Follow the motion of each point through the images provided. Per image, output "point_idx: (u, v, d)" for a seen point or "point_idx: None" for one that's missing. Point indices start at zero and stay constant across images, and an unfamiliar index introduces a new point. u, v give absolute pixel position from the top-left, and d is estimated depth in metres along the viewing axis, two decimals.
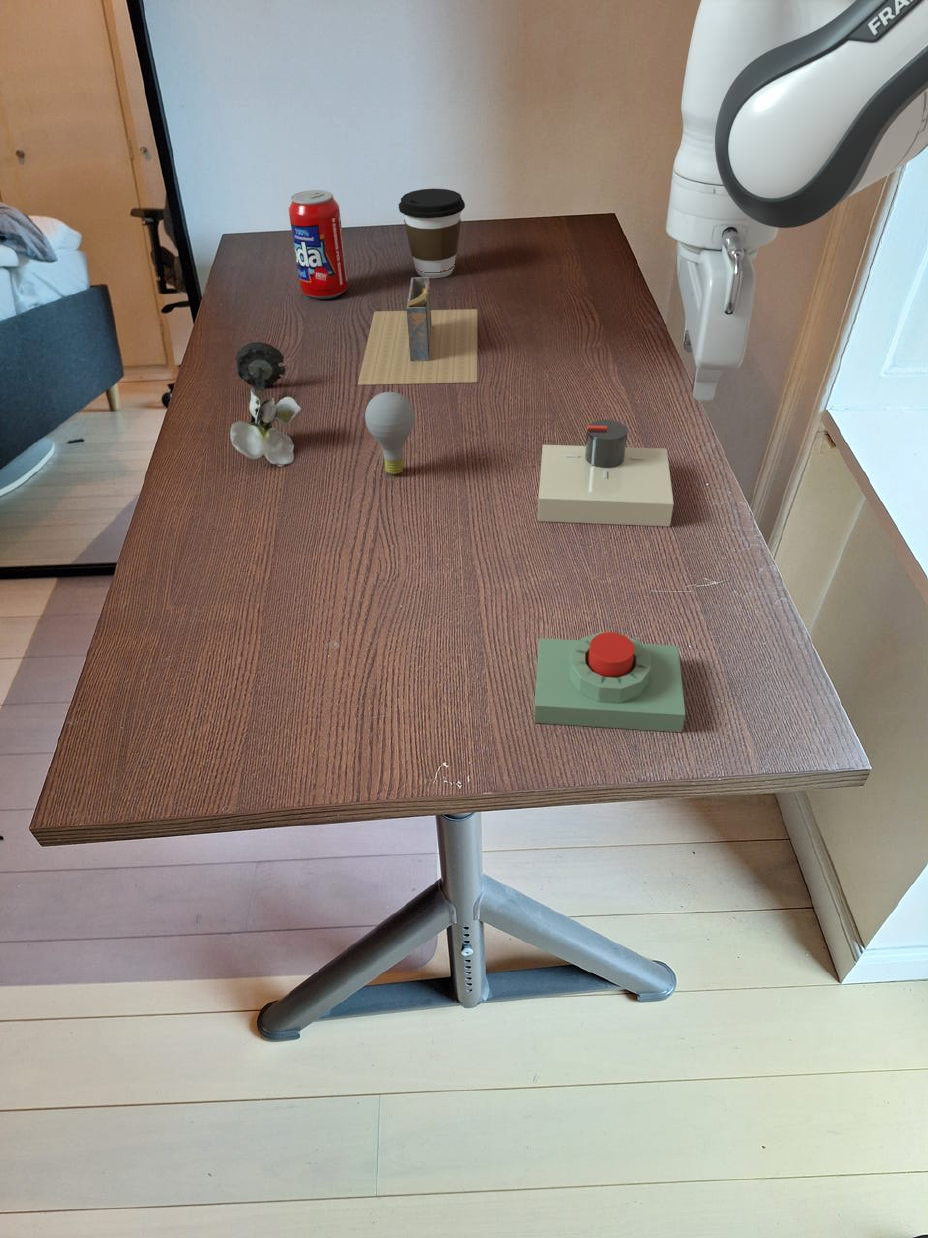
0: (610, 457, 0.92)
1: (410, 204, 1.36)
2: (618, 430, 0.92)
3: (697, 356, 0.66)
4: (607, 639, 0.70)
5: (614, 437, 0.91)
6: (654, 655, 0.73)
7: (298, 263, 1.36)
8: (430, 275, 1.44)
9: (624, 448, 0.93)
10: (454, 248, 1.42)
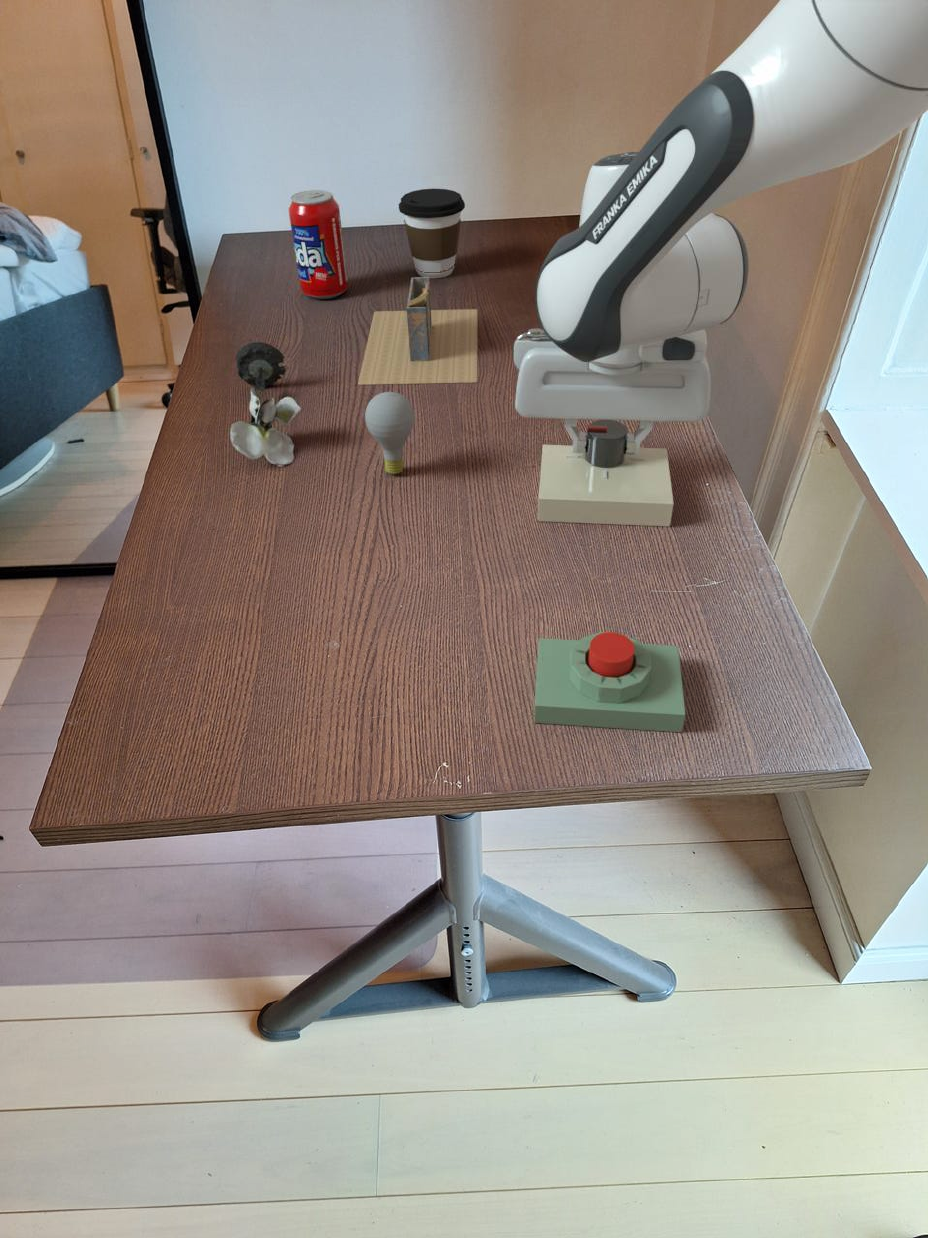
0: (609, 457, 0.92)
1: (410, 204, 1.36)
2: (618, 430, 0.92)
3: None
4: (607, 639, 0.70)
5: (614, 437, 0.91)
6: (654, 655, 0.73)
7: (298, 263, 1.36)
8: (430, 275, 1.44)
9: (624, 448, 0.93)
10: (454, 248, 1.42)
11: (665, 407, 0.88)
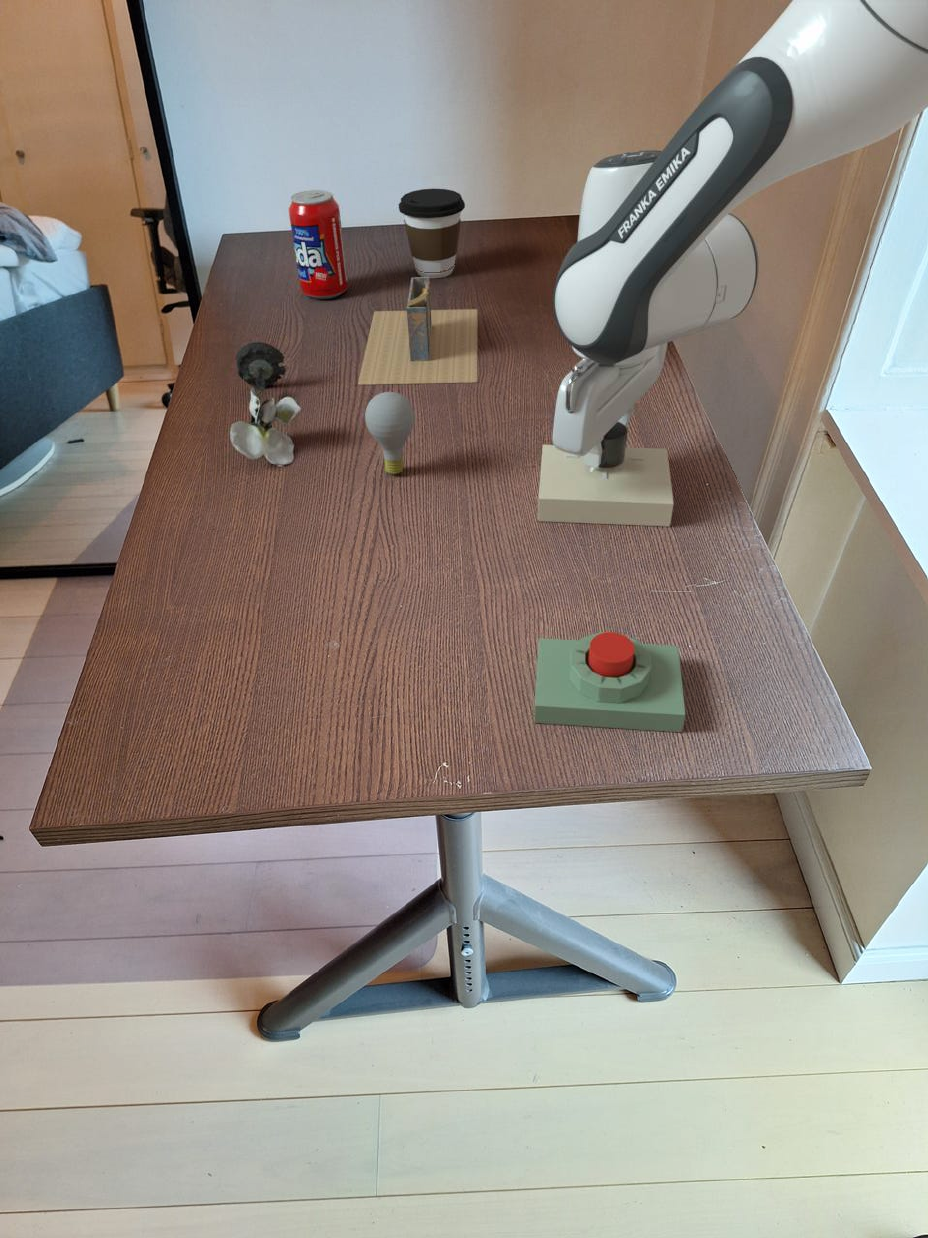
0: (625, 450, 0.93)
1: (410, 204, 1.36)
2: None
3: None
4: (607, 639, 0.70)
5: (624, 430, 0.92)
6: (654, 655, 0.73)
7: (298, 263, 1.36)
8: (430, 275, 1.44)
9: None
10: (454, 248, 1.42)
11: (647, 380, 0.93)
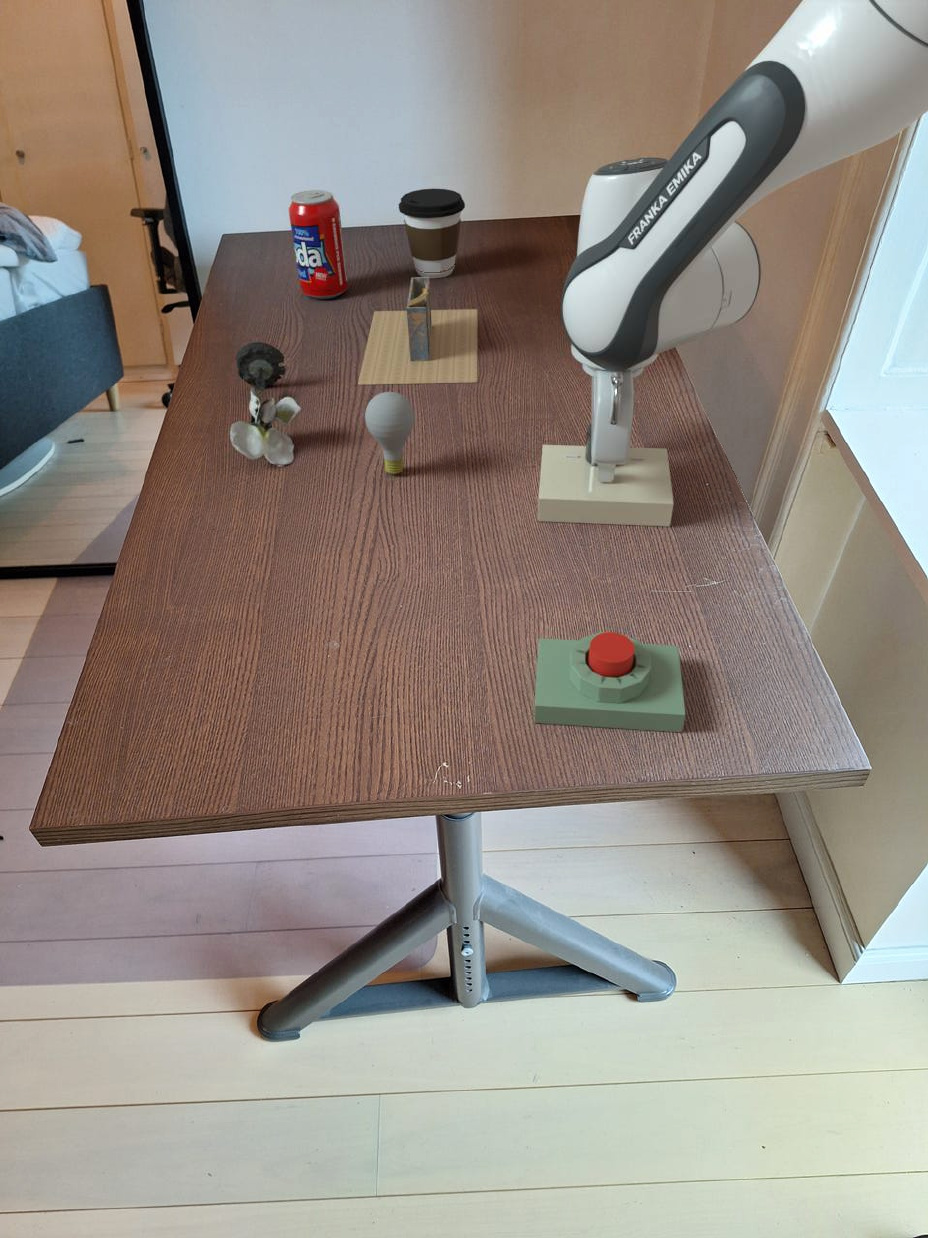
0: None
1: (410, 204, 1.36)
2: None
3: (592, 454, 0.84)
4: (607, 639, 0.70)
5: None
6: (654, 655, 0.73)
7: (298, 263, 1.36)
8: (430, 275, 1.44)
9: None
10: (454, 248, 1.42)
11: None
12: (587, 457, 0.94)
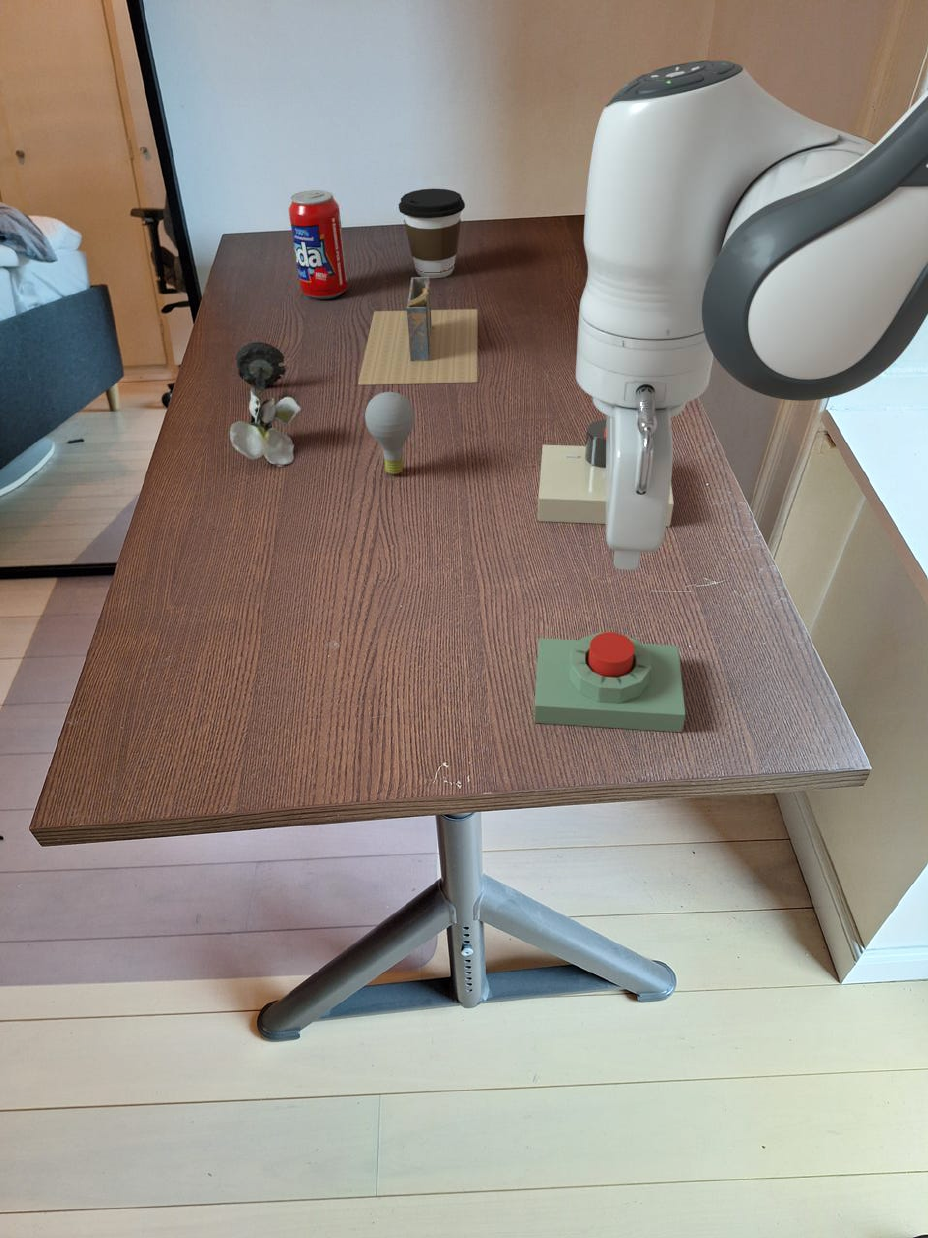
0: None
1: (410, 204, 1.36)
2: None
3: (607, 537, 0.54)
4: (607, 639, 0.70)
5: None
6: (654, 655, 0.73)
7: (298, 263, 1.36)
8: (430, 275, 1.44)
9: None
10: (454, 248, 1.42)
11: None
12: (587, 457, 0.94)
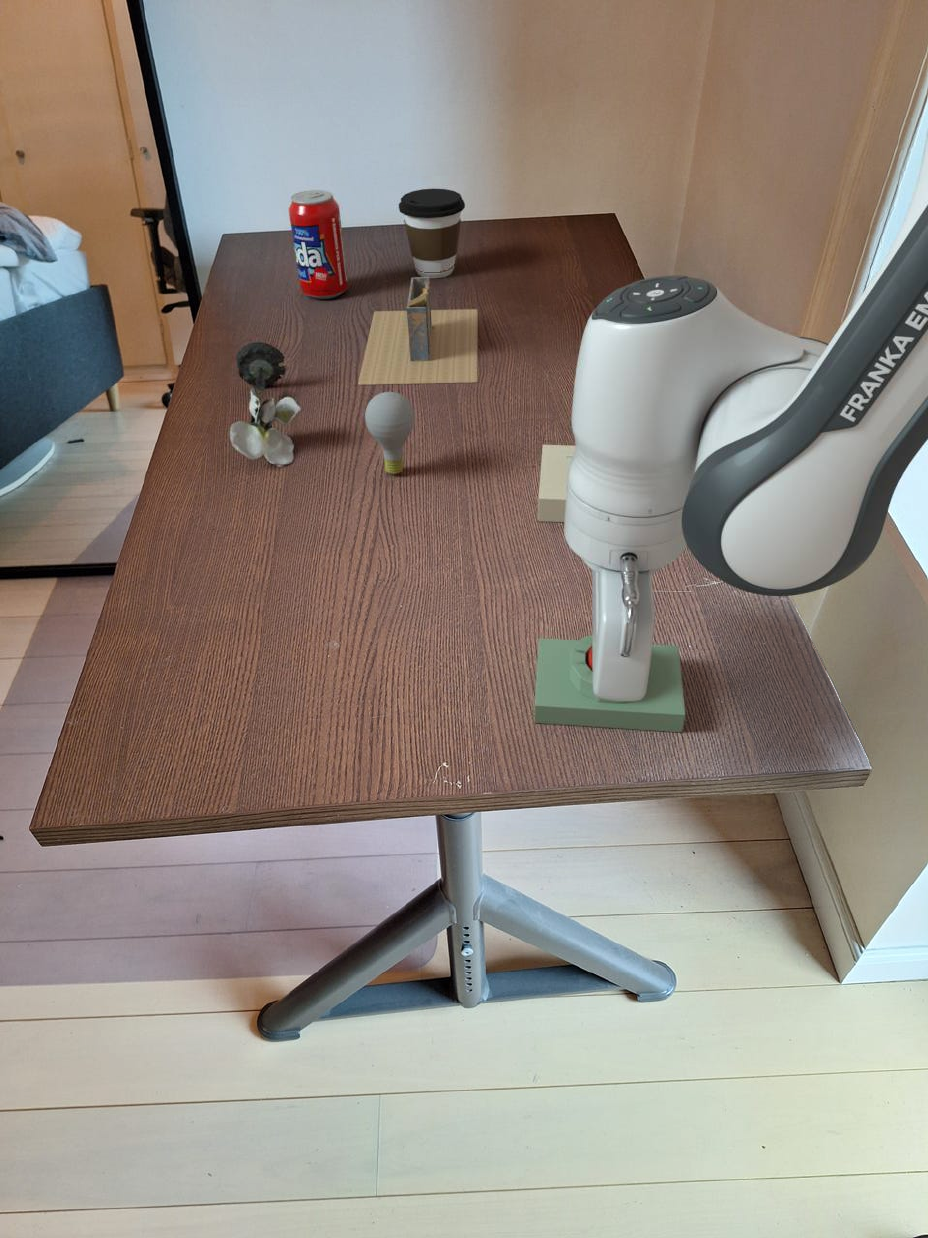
0: None
1: (410, 204, 1.36)
2: None
3: (594, 689, 0.59)
4: None
5: None
6: (654, 655, 0.73)
7: (298, 263, 1.36)
8: (430, 275, 1.44)
9: None
10: (454, 248, 1.42)
11: None
12: None
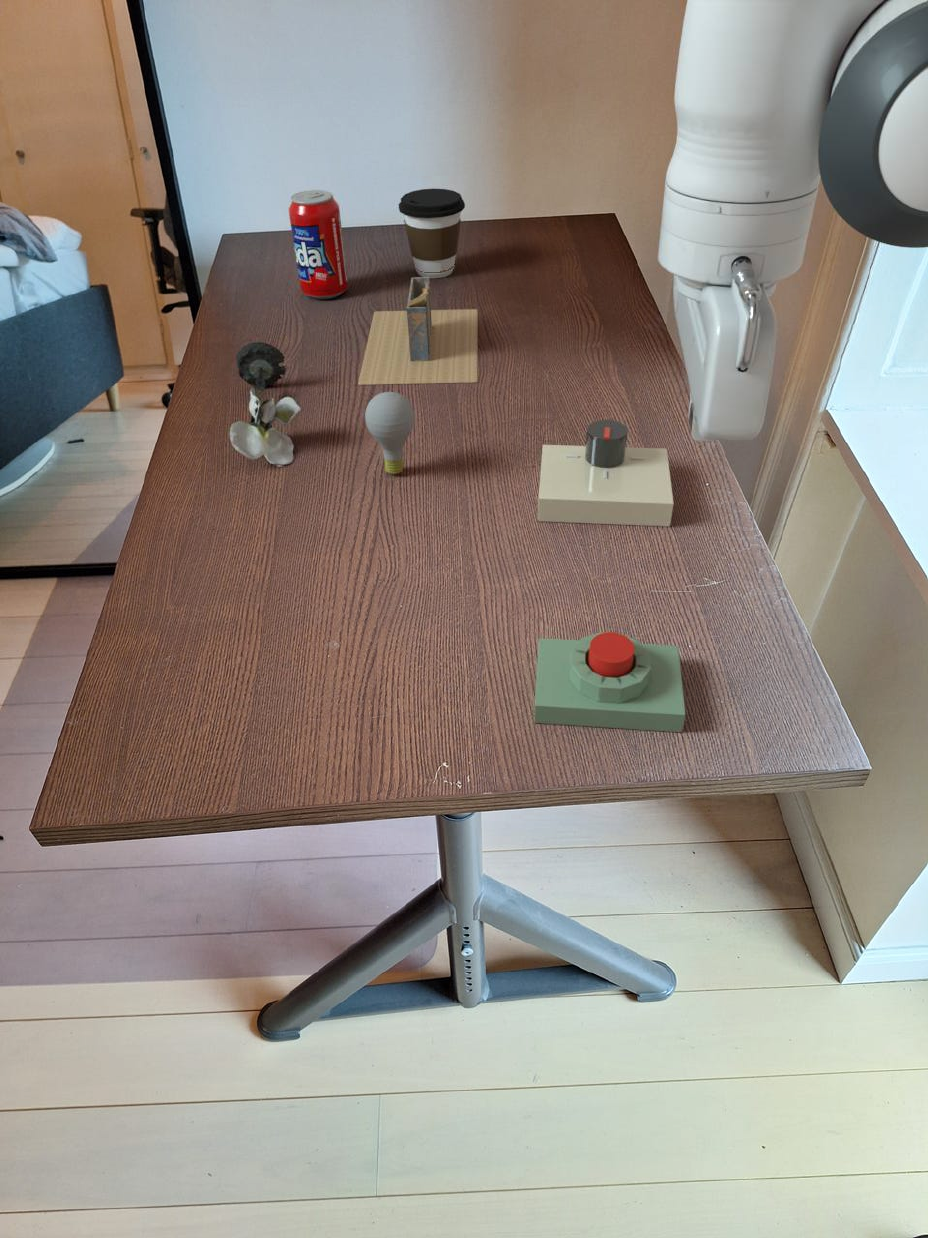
0: None
1: (410, 204, 1.36)
2: (609, 424, 0.93)
3: (702, 424, 0.51)
4: (607, 639, 0.70)
5: (623, 427, 0.93)
6: (654, 655, 0.73)
7: (298, 263, 1.36)
8: (430, 275, 1.44)
9: None
10: (454, 248, 1.42)
11: None
12: (587, 457, 0.94)
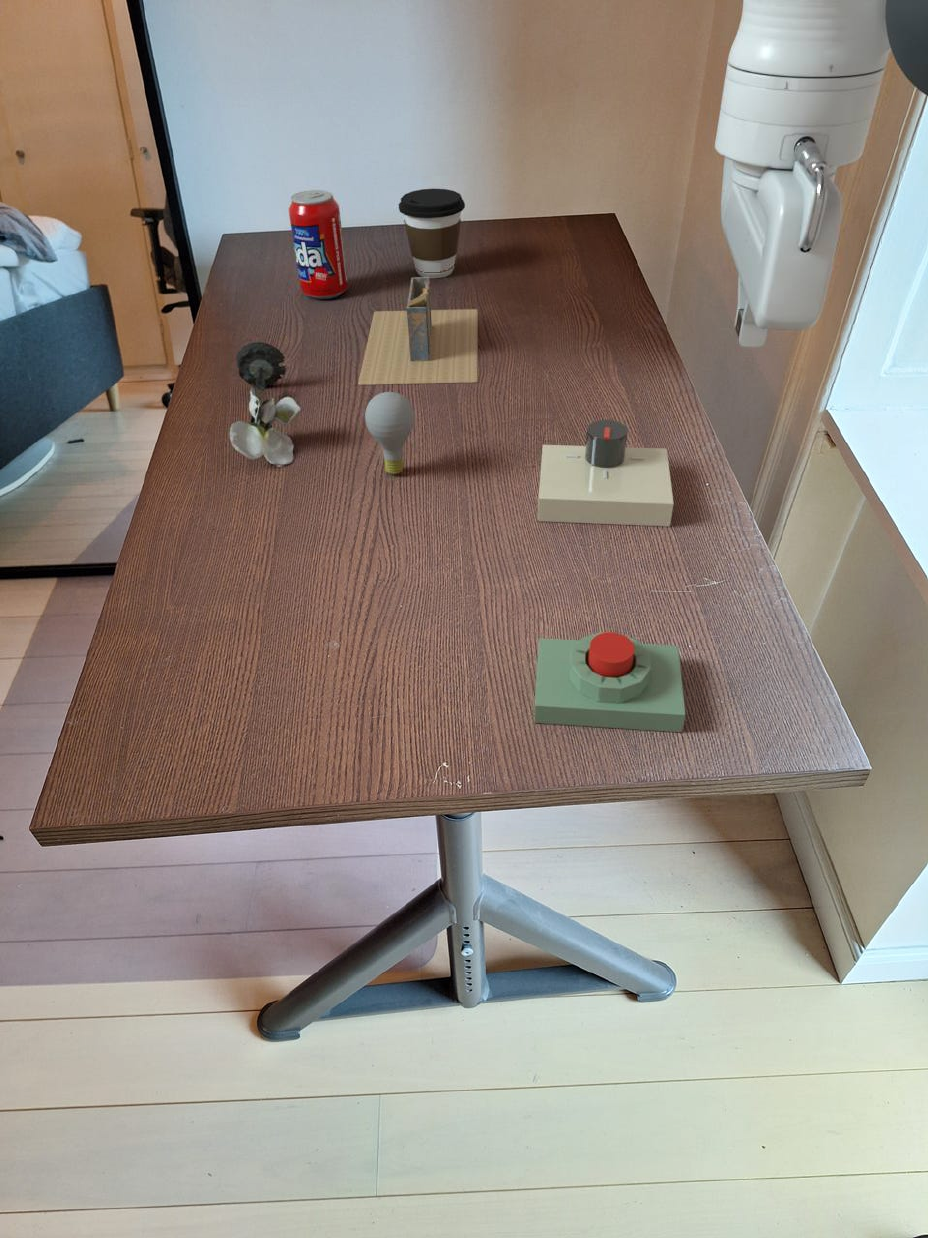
0: None
1: (410, 204, 1.36)
2: (609, 424, 0.93)
3: (759, 310, 0.50)
4: (607, 639, 0.70)
5: (623, 427, 0.93)
6: (654, 655, 0.73)
7: (298, 263, 1.36)
8: (430, 275, 1.44)
9: None
10: (454, 248, 1.42)
11: None
12: (587, 457, 0.94)
